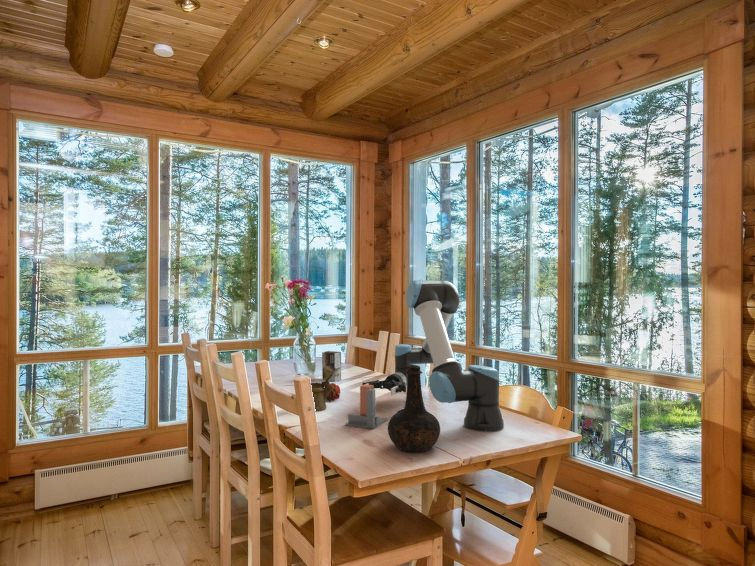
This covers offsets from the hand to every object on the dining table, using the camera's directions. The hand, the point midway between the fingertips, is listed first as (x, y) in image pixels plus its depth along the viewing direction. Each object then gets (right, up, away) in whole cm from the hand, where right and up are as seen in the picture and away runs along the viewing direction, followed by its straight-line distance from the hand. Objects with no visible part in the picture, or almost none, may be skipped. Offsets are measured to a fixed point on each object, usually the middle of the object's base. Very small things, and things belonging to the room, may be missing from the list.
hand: (376, 390), depth 216 cm
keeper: (-4, -11, -9) cm, 15 cm away
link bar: (-4, -10, -9) cm, 14 cm away
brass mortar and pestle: (-24, -11, +14) cm, 30 cm away
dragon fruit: (-21, -11, +32) cm, 40 cm away
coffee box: (-25, -11, +79) cm, 83 cm away
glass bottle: (+13, -11, -40) cm, 43 cm away
